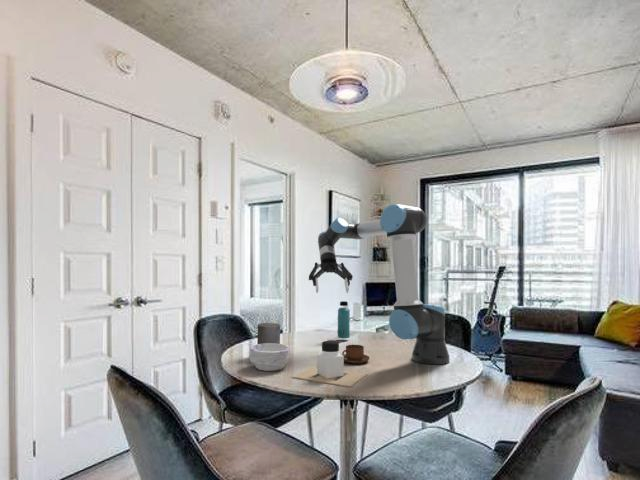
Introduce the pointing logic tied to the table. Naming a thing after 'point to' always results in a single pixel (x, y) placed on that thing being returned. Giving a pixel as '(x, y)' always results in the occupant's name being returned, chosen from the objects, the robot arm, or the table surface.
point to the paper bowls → (269, 356)
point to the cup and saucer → (355, 354)
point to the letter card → (346, 380)
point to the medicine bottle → (330, 360)
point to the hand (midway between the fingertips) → (332, 290)
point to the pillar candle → (268, 333)
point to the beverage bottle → (343, 321)
